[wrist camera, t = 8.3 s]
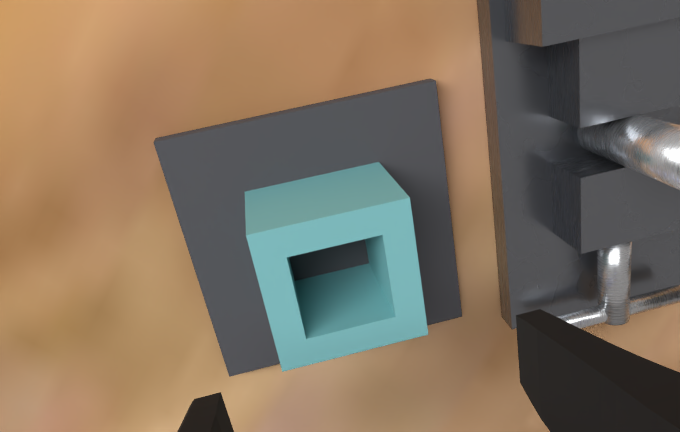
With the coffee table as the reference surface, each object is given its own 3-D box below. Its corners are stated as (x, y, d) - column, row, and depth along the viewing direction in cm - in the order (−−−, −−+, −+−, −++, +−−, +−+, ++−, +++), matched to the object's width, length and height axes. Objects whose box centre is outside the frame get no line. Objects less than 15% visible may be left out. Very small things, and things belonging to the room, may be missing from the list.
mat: (457, 309, 24) (462, 316, 23) (229, 367, 23) (229, 376, 22) (430, 78, 20) (435, 80, 19) (156, 138, 19) (153, 142, 19)
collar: (396, 279, 22) (428, 334, 18) (275, 308, 22) (282, 371, 18) (378, 162, 20) (409, 197, 17) (244, 191, 20) (245, 235, 16)
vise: (666, 273, 25) (799, 358, 19) (501, 316, 24) (586, 418, 18) (690, -127, 19) (897, -185, 13) (470, -85, 18) (582, -127, 12)
